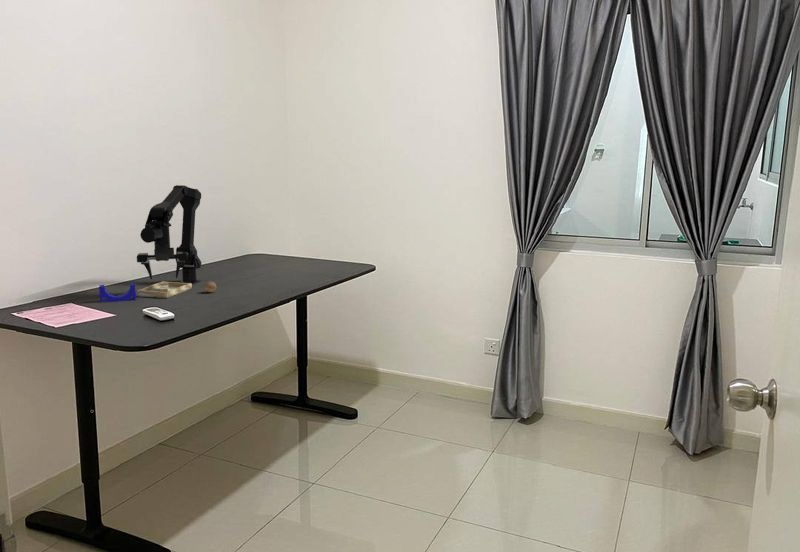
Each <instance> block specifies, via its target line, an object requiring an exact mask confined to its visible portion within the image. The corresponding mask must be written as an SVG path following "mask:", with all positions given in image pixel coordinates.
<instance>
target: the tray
mask: <svg viewBox="0 0 800 552" xmlns="http://www.w3.org/2000/svg"><path fill="white" fill-rule="evenodd" d="M161 282H162V281H161ZM161 282H157V283H154V284H150V285H149V286H145V287H143V288H140V289H137V290H135V291H136V297H141V298H154V297H156V299H170V298H172V297H174V295H175V296H177V295H180V294H181V293H184V292H188V291H190V290H192V287H193V286H192V285H193V283H180V282H178V281H176V282H175V281H173V282H172V281H167V282H168V287H169V289H168V291H167V292H160V287H161ZM169 297H170V298H169Z"/></svg>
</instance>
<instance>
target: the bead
mask: <svg viewBox="0 0 800 552" xmlns="http://www.w3.org/2000/svg"><path fill="white" fill-rule="evenodd" d="M204 289H205V292H207V293H209V294H210V293H211V294H212V293H214V292H215V291H216V289H217V285H216V282H214V281H207V282H206V283H205V284H204Z"/></svg>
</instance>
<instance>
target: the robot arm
mask: <svg viewBox="0 0 800 552" xmlns="http://www.w3.org/2000/svg"><path fill="white" fill-rule="evenodd" d="M201 200H202V193H201V191H200V190H199V189H198V188H192V187H189V186H187V185H182V184H181V185H177V184H176V185H174V186H173V187H172V190H170V192H169V193H168V195H167V196H166V197H165V198H164V199H163V200H162V202H160V203H157V204H155V205H153V206H152V207H151V208H150V209H149V211H148V212H149V213H148V216H147V218H146V222H145V224H144V228H143V229H141V231H140V234H139V236H140V238H141V240H142V241H143V242H144V243H146V244H148V243H153V242H154V243H153V244H154V254H149V253H148V252H138V253H137V255H136V262H137V263H140V265H142V266H144V268H145V269H146V271H147V273H148V275H149V278H150V280H153V272H152V267H151V262H150V261H152V260H153V261H156V262H160V261H161V262H162V261H163V262H164V261H165V262H168V261H169V260H175V262H176V270H175V279H178V276H179V272H180V269H181V270H182V273H181V274H182V275H181V276H182V280H180V281H179V282H178V283H191V284H196V283H197V282H201V279H198V272H197V271H198V270H197V269H201V267H202V260H201V259H200V257H199V256H198V250H197V248H196V246H195V244H194V241H195V225H196V224H195V223H196V211H197V209H198V208H199V207H200V204H201ZM179 204H180V206H181V207H182V228H181V243H180V245H179V246H177V247H176V249H175V248H174V247H171V239H170V238H171V235H170V227H172V223H170V221H171V220H172V218H173V216H174V213H173V211H174V209H175V208H176V207H177V205H179ZM175 251H176V252H175Z"/></svg>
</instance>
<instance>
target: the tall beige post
mask: <svg viewBox="0 0 800 552" xmlns="http://www.w3.org/2000/svg"><path fill="white" fill-rule="evenodd" d="M168 282H169V281H161V287H160V292H167V291H168V289H169V287H168Z"/></svg>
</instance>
